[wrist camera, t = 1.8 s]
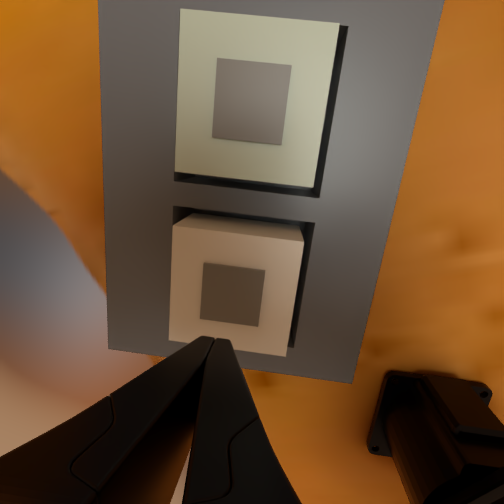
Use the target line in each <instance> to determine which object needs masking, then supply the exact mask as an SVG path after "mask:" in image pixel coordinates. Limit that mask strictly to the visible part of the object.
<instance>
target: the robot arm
mask: <svg viewBox="0 0 504 504" xmlns="http://www.w3.org/2000/svg"><path fill="white" fill-rule="evenodd" d="M395 378H396V380H394V381H391V380H392V379H395ZM482 391H483V392H482ZM481 392H482V393H481ZM491 397H492V391H491V390H490V388H489V387H488V386H487V385H485V384H482V383H475V382H468V381H465V380H460V379H453V378H446V377H439V376H432V375H419V374H411V373H404V372H397V371H391V372H388V373H387V374H386V375H385V378H384V381H383V385H382V389H381V392H380V396H379V400H378V403H377V407H376V410H375V414H374V418H373V421H372V425H371V428H370V432H369V436H368V439H367V448H368V450H369V452H370V453H371V454H375V455H382V456H388V457H392V458H393V460H394V463H395V465H396V468H397V471H398V473H399V476H400V478H401V481H402V484H403V486H404V489H405V491H406V494H407V496H408V499H409V502H410V504H504V425H503V424H502V423H501V422H500V420H499V419H498V418H497V417H496V416H495V415H494V413H493V412H492V411H491V410H490V409H489V407H488V405H489V402H490V400H491ZM190 448H191V451H190ZM189 451H190V457H189V463H188V469H187V476H186V482H185V488H184V495H183V500H182V504H302V503H301V502H300V500H299V498H298V496H297V494H296V492H295V491H294V489H293V487H292V485H291V483H290V482H289V480H288V478H287V476H286V474H285V472H284V471H283V469H282V467H281V465H280V463H279V461H278V459H277V457H276V455H275V453H274V451H273V449H272V447H271V444H270V442H269V439H268V437H267V435H266V432H265V430H264V427H263V425H262V422H261V420H260V417H259V414H258V412H257V409H256V406H255V404H254V401H253V398H252V396H251V393H250V391H249V388H248V385H247V383H246V380H245V377H244V375H243V372H242V369H241V367H240V364H239V361H238V359H237V356H236V353H235V351H234V348H233V346H232V343H231V341H230V340H229V339H224V338H216V339H215V338H214V337H209V336H199V337H198V338H196V339H195V340H193V341H192V342H190V343H189V344H187V345H185V346H184V347H182V348H181V349H179V350H178V351H176V352H175V353H173V354H172V355H170V356H168V357H167V358H165V359H164V360H162V361H161V362H159V363H158V364H156V365H154V366H153V367H151V368H150V369H149V370H147V371H145V372H144V373H142V374H141V375H139V376H137V377H136V378H134V379H133V380H131V381H130V382H128V383H126V384H125V385H123V386H122V387H121V388H119V389H117V390H116V391H114V392H113V393H111V394H110V396H106V397H105V398H103V399H102V400H100V401H98V402H97V403H95V404H94V405H92V406H90V407H89V408H87V409H85V410H84V411H82V412H81V413H79V414H77V415H76V416H74V417H72V418H71V419H69V420H67V421H65V422H64V423H62V424H60V425H58V426H56V427H55V428H53V429H51V430H49V431H48V432H46V433H44V434H42V435H40V436H38V437H36V438H34V439H33V440H31V441H29V442H27V443H25V444H23V445H21V446H19V447H18V448H16V449H14V450H12V451H10V452H8V453H6V454H5V455H3V456H1V457H0V504H170V502H171V499H172V497H173V494H174V491H175V488H176V485H177V483H178V480H179V478H180V474H181V472H182V470H183V467H184V464H185V461H186V458H187V456H188V453H189Z"/></svg>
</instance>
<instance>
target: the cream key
mask: <svg viewBox="0 0 504 504" xmlns="http://www.w3.org/2000/svg"><path fill="white" fill-rule="evenodd" d="M303 247H304V239H303V236H302V233H301V230H300V227H299V226H297V225H289V224H280V223H272V222H264V221H256V220H248V219H239V218H231V217H223V216H215V215H207V214H198V213H192V214H191V215H189V216H187V217H186V218H184V219H182V220H181V221H179V222H178V223H176V224H174V225H173V231H172V260H171V288H170V317H169V340H171V341H178V342H185V343H190V342H192V341H193V340H195V339H196V338H198V337H199V336H209V337H214V338H215V339H216V338H224V339H229V340H230V341H231V343H232V346H233V348H234V350H242V351H249V352H256V353H263V354H270V355H277V356H284V357H286V352H287V345H288V339H289V333H290V327H291V321H292V315H293V309H294V302H295V296H296V290H297V284H298V278H299V272H300V265H301V259H302V253H303Z"/></svg>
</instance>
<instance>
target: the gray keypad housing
mask: <svg viewBox="0 0 504 504" xmlns="http://www.w3.org/2000/svg"><path fill="white" fill-rule="evenodd" d="M444 1H445V0H98V15H99V49H100V83H101V117H102V151H103V185H104V219H105V253H106V287H107V318H108V319H107V321H108V348H109V349H113V350H120V351H127V352H134V353H141V354H148V355H155V356H161V357H168V356H170V355H172V354H173V353H175V352H176V351H178V350H179V349H181V348H182V347H184V346H185V345H187V344H189V343H185V342H178V341H171V340H169V317H170V288H171V260H172V231H173V225H174V224H176V223H178V222H179V221H181V220H182V219H184V218H186V217H187V216H189V215H191V214H192V213H198V214H207V215H215V216H223V217H231V218H239V219H248V220H256V221H264V222H272V223H280V224H289V225H297V226H299V227H300V230H301V233H302V236H303V239H304V247H303V253H302V259H301V265H300V272H299V278H298V284H297V290H296V296H295V302H294V309H293V315H292V321H291V327H290V333H289V339H288V345H287V352H286V357H284V356H277V355H270V354H263V353H256V352H249V351H242V350H234V351H235V353H236V356H237V359H238V361H239V364H240V367H241V368H245V369H252V370H259V371H266V372H273V373H280V374H287V375H294V376H301V377H308V378H315V379H322V380H329V381H336V382H343V383H350V384H352V382H353V377H354V373H355V369H356V365H357V361H358V357H359V353H360V348H361V344H362V340H363V336H364V332H365V328H366V324H367V319H368V315H369V311H370V307H371V303H372V299H373V295H374V290H375V286H376V282H377V278H378V274H379V270H380V266H381V262H382V257H383V253H384V249H385V245H386V241H387V237H388V233H389V228H390V224H391V220H392V216H393V212H394V208H395V204H396V199H397V195H398V191H399V187H400V183H401V179H402V175H403V170H404V166H405V162H406V158H407V154H408V150H409V146H410V141H411V137H412V133H413V129H414V125H415V121H416V117H417V112H418V108H419V104H420V100H421V96H422V92H423V88H424V83H425V79H426V75H427V71H428V67H429V63H430V59H431V54H432V50H433V46H434V42H435V38H436V34H437V30H438V25H439V21H440V17H441V13H442V9H443V5H444ZM180 8H181V9H192V10H203V11H213V12H224V13H235V14H246V15H256V16H267V17H278V18H289V19H299V20H310V21H321V22H332V23H340V25H339V32H338V38H337V44H336V50H335V56H334V62H333V69H332V75H331V81H330V87H329V93H328V99H327V105H326V112H325V118H324V124H323V130H322V136H321V142H320V149H319V155H318V161H317V167H316V173H315V179H314V185H313V188H312V187H303V186H295V185H286V184H277V183H269V182H260V181H252V180H243V179H234V178H226V177H217V176H209V175H200V174H192V173H183V172H175V146H176V117H177V89H178V60H179V32H180Z"/></svg>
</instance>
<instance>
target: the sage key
mask: <svg viewBox="0 0 504 504" xmlns="http://www.w3.org/2000/svg"><path fill="white" fill-rule="evenodd" d="M339 25H340V23H332V22H321V21H310V20H299V19H289V18H278V17H267V16H256V15H246V14H235V13H224V12H213V11H203V10H192V9H181V8H180V32H179V60H178V89H177V117H176V146H175V172H183V173H192V174H200V175H209V176H217V177H226V178H234V179H243V180H252V181H260V182H269V183H277V184H286V185H295V186H303V187H312V188H313V185H314V179H315V173H316V167H317V161H318V155H319V149H320V142H321V136H322V130H323V124H324V118H325V112H326V105H327V99H328V93H329V87H330V81H331V75H332V69H333V62H334V56H335V50H336V44H337V38H338V32H339Z"/></svg>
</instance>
